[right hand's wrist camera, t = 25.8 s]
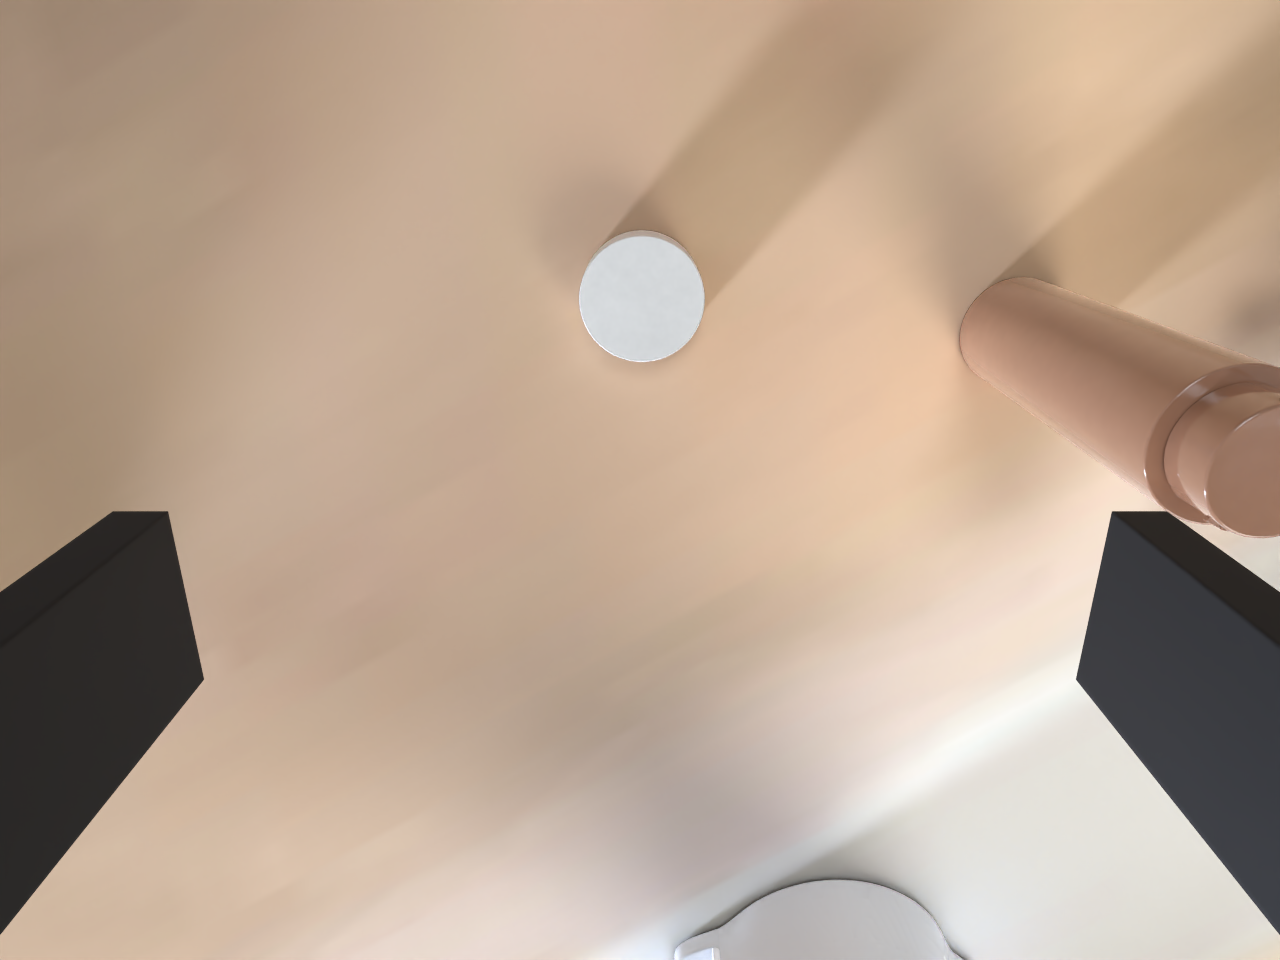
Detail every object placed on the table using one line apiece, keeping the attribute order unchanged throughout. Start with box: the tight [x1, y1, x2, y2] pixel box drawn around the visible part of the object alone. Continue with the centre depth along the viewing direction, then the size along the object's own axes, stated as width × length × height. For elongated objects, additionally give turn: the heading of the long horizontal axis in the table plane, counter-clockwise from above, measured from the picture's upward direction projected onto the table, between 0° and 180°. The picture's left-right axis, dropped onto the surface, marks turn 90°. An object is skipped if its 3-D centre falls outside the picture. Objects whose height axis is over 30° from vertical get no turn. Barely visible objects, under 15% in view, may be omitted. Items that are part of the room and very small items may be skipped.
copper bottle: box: [960, 277, 1280, 538], centre depth 31 cm, size 5×5×18 cm
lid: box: [579, 230, 705, 362], centre depth 38 cm, size 5×5×2 cm
